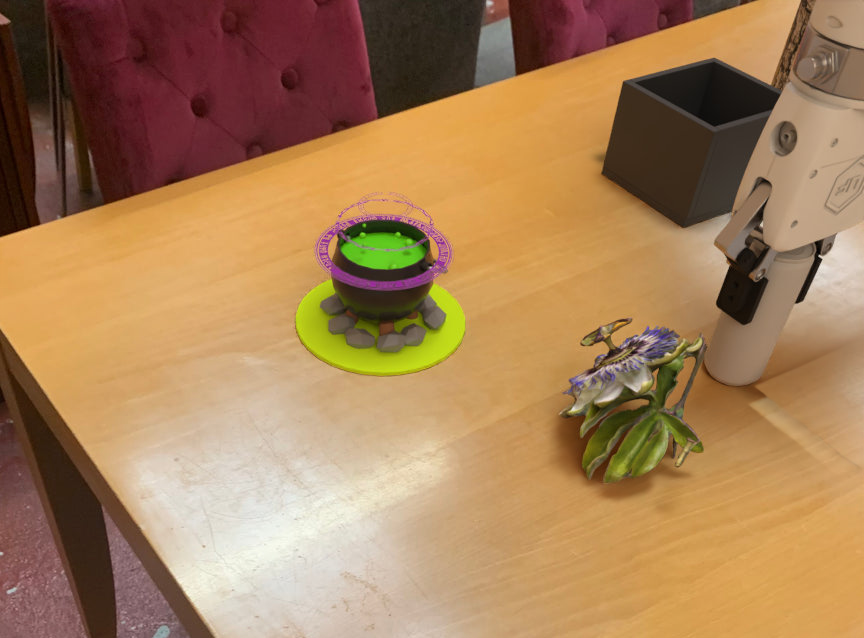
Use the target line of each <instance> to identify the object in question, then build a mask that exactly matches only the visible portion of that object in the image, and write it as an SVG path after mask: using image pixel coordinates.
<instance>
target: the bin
mask: <svg viewBox="0 0 864 638" xmlns="http://www.w3.org/2000/svg"><path fill="white" fill-rule="evenodd" d="M782 92H783V91H781V90H779V89H777V88H775V87H773V86H771V84H769V83H768V82H766V81H763V80H761V79H759V78H757V77H755V76H753V75H751V74H749V73H747V72H745V71H743V70H741V69H738V68H737V67H735V66H732V65H731V64H728V63H726V62H724V61H722V60H720V59H718V58H717V57H711V58H707V59H703V60H702V59H701V60H699V61H695V62H690V63H688V64H684V65H678V66H676V67H673V68H668V69H664V70H660V71H657V72H653V73H652V72H651V73H649V74H645V75H641V76H638V77H637V76H636V77H633V78H630V79H625V80H623V81H622V84H621V88H620V92H619V97H618V100H617V105H616V109H615V114H614V118H613V122H612V125H611V130H610V135H609V139H608V143H607V148H606V152H605V157H604V161H603V164H602V168H601V175H603V176H604V177H606V178H608V179H609V180H610V181H612V182H614V184H617V185H618V186H620V187H621V188H622V189H624V190H626V191H627V192H629V193H630V194H632V195H633V196H635V197H636V198H638V199H639V200H641V201H642V202H643V203H644V204H645V203H646V204H647V205H648V206H650V207H651V208H653V209H654V210H656V211H657V212H659V213H660V214H662V215H663V216H664V217H667V218H668V219H670V220H671V221H672V222H674V223H676V224H677V225H679V226H680V227H681V228H687V227H690V226H693V225H695V224H698V223H701V222H705V221H708V220H710V219H714V218H716V217H719V216H722V215H725V214H728V213H732V210H733V206H734V202H735V199H736V195H737V192H738V189H739V187H740V184H741V181H742V179H743V176H744V173H745V171H746V168H747V166H748V163H749V161H750V159H751V156H752V154H753V151H754V149H755V147H756V145H757V142H758V140H759V138H760V136H761V133H762V131H763V129H764V127H765V125H766V123H767V121H768V119H769V117H770V115H771V113H772V111H773V109H774V107H775V105H776V103H777V101H778V99H779V97H780V95H781V93H782Z"/></svg>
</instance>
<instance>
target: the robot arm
mask: <svg viewBox="0 0 864 638" xmlns="http://www.w3.org/2000/svg"><path fill="white" fill-rule="evenodd" d="M789 78H790V82H789V83H787V84H786V86H785V88H784V90H783V92H782V93H781V95H780V97H779V99H778V101H777V103H776V105H775V107H774V109H773V111H772V113H771V115H770V117H769V119H768V121H767V123H766V125H765V127H764V129H763V131H762V133H761V136H760V138H759V140H758V142H757V145H756V147H755V149H754V151H753V154H752V156H751V159H750V161H749V163H748V166H747V168H746V171H745V173H744V176H743V179H742V181H741V184H740V187H739V189H738V192H737V195H736V199H735V202H734V206H733V210H732V211H731V217H730V220H729V221H728V222H727V224H726V225H725V226H724V227H723V228H722V230H721V231H720V232H719V234H717V236H716V238H715V239H714V241H713V245H714V246H715V248H717V250H719V251H720V252H721V253H722V254H723V255H724V257H725V258H726V261H725V262H726V264H727V265H728V268H727V271H726V274H725V277H724V279H723V282H722V284H721V287H720V289H719V292H718V295H717V298H716V300H715V306H716V308H718V309H719V310H720V311H723V312H725V313H726V314H727V315H729V316H730V317H732V318H733V319H734V320H736V321H737V322H739V323H740V324H742V325H746V324H749V323H751V322H752V320H753V317H754V315H755V312H756V310H757V308H758V305H759V303H760V300H761V298H762V296H763V293H764V291H765V288H766V286H767V284H768V281H769V280H768V279H767V278H765V277H764V276H765V274H766V273H767V271H768V269H769V267H770V266H771V264H772V262H773V261H774V259H775V257H776V256H777V254H778V252H785V251H789V250H792V249H796V248H799V247H801V246H804V245H807V244H810V243H812V242H814V243H815V245H816V252H815V254H814V262H813V264H812V266H811V268H810V270H809V273H808V275H807V277H806V279H805V282H804V284H803V286H802V288H801V290H800V293H799V295H798V297H797V299H796V301H795V304H794V305H799V304H800V303H803V302H804V300H805V299H806V297H807V295H808V292H809V290H810V288H811V286H812V284H813V282H814V279H815V277H816V276H817V272H818V271H819V268H820V266H821V265H822V261H823V258H822V257H825V256H827V255H828V254H829V253H830V251H831V250H832V249H833V248H834V244H835V240H836V236H837V235H838V234H839V233H841V232H844V231H847V230H848V229H851V228H853V227H855V226H857V225H859V224H861V223H863V222H864V0H816V2H815V5H814V8H813V10H812V13H811V16H810V19H809V21H808V24H807V27H806V29H805V32H804V35H803V38H802V40H801V43H800V46H799V49H798V51H797V54H796V57H795V60H794V62H793V65H792V68H791V71H790V74H789ZM761 224H762V226H761ZM754 239H756V240H758V241H759V242H761V243H762V244H764V245H766V246H765V247H764V249H763V250H762V252H761V254H760V255H759V257H758V258H757V257H756V255H755V253H754V252H753V251H752V250H751V249H749V247H750V246H751V244H752V242H753V240H754Z"/></svg>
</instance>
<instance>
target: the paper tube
mask: <svg viewBox="0 0 864 638" xmlns="http://www.w3.org/2000/svg"><path fill="white" fill-rule="evenodd" d="M815 2H816V0H800V2H799V4H798V7H797V10H796V13H795V16H794V19H793V21H792V24H791V26H790V30H789V32H788V36H787V38H786V41H785V44H784V47H783V50H782V52H781V55H780V58H779V61H778V63H777V67H776V69H775V72H774V75H773V77H772V80H771V83H770V85H771V86H773V87H775V88H777V89H779V90H781V91H783V90H784V88H785V86H786V84H787V83H789V82H790V78H789V74H790V71H791V68H792V65H793V62H794V60H795V57H796V54H797V51H798V49H799V46H800V43H801V40H802V38H803V35H804V32H805V29H806V27H807V24H808V21H809V19H810V16H811V13H812V10H813V8H814V5H815Z"/></svg>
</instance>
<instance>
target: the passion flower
mask: <svg viewBox="0 0 864 638" xmlns="http://www.w3.org/2000/svg"><path fill="white" fill-rule="evenodd" d="M633 320H634V319H633V317H630V316H629V317H627V318H620V319H617V320H614V321H612V322H610V323H607V324H606V325H605V324H604V325H602V324H601V325H599V327H598V328H597V329H595V330H593V331H591V332H589V333H588V334H586V335H585V336H584V337H583V338H582V340H581V341H580V342H579V343H580V346H581V347H593V346H594V345H597V344H599V343H601V342H603V343H605V345H606V346H607V348H608V352H607V353H604V354H603V353H602V354H599V355H597V356H596V357H595V359H594V364H593V366H592V367H591V368H588V369H586V370H584V371H582V372H580V373H578V374H576V375H575V376H574V377H571V378H569V379H568V382H569V383H570V388H569V389H567V390H565V391H563V392H561V394H562V395H570V396H571V397H572V398H573V399H574V402H572V403H569V404H568V405H567V406H565V407H564V408H563V409H562V410H561V411H560V412H559V413H558V416H559V417H560V418H562V419H566V420H568V419H571V418H575V417H583V416H585V418H584V420H583V423H582V424H581V426H580V427H579V437H580V439H583V438H584V437H585V435H586V434H587V433H588V431H589V430H590V429H592V427H595V426H596V424H598V422H599V421H600V420H601V419H602V420H601V421H600V423H599V426H598V428H597V429H595V431H594V432H593V433H592V435H591V436H590V438H589V439H588V442H587V444H586V447H585V450H584V452H583V453H582V459H581V468H582V469H583V470H584V472H585V473H586V478H587V480H591V479H592V477H593V474H594V472H595V470H596V469H597V468H599V467H600V466H602V464H603V463H604V462H605V461H606V460H607V459H608V458H609V456H610V454H611V452H612V450H613V449H614V447H615V446H616V445H617V443H619V440H620V439H621V437H622V436H623V434H625V433H626V432H627V431H628V432H627V433H626V434H625V436H624V439H623V440H622V441H621V444H620V445H619V447H618V449H617V452H616V453H615V454H612V456H611V457H610V460H609V463H608V465H607V467H606V469H605V472H604V475H603V478H602V483H603V484H611V483H615V482H621V481H623V480H625V479H627V478H628V479H629V478H630V479H634V478H635V479H636V478H639V477H642V476H643V475H646V474H647V473H649V472H651V471H652V470H653V469H654V468H656V466H658V464H659V463H660V462H661V461H662V459H663V458H664V457H665V455H666V452H667V450H668V447H669V441H670V438H671V437H672V459H675V458H676V452H677V448H678V445H679V446H680V448H682V451H681V452H680V453H679V454H678V456H677V460H676V461H675V462H674V468H675V467H676V468H680V467H681V466H682V465H683V463H684V461H685V460H686V459H687V456H688V455H689V454H690V453H696V454H703V453H704V451H705V449H704V448H705V447H704V445H703V441H702V440H701V438H700V436H699V435H698V434H697V433H696V431H695V430H694V429H693V428H692V427H691V426H690V425H689V424H688V423H687V422H686V421H685V420H684V414H685V404H686V401H687V399H688V396H689V394H690V391H691V389H692V387H693V384H694V380H695V379H696V376H697V373H698V371H699V368H700V367H701V365H702V363H703V362H704V356H705V353H706V351H707V348H708V345H707V343H706V341H705V339H706V337H704V334H703V333H702V332H699V333H698V337H697V338H696V339H695V340H694V341H693V342H692V343H690V341H689V340H687V339H686V338H684V337H681V335H680V334H678V333H677V332H676V331H675V330H674V329H672V330H670V328H669V327H666V326H662V327H661V328H659V327H660V326H659V325H655V327H654V328H653V329H650V326H649V325H647V326H646V328H645V330H644V331H643V332H642V333H640V335H639V334H634V335H633V336H629V337H625V339H624V340H623V341H622V343H621V344H620V345H619V346H616V345H615V344H614V343H613V340H612V336H613V334H614V333H615V332H617V331H619V330H620V329H622V328H623V327H625V326H627V325H630V324H631V323H632V322H633ZM688 358H694V359H695V362H694V366H693V368H692V371H691V373H690V376H689V378H688V380H687V382H686V385H685V387H684V390H683V392H682V394H681V397H680V399H679V400H678V401H677V402H676V403H675V404H674V405H672V406H671V407H670V408H669V409H668V408H666V402H667V400H668V398H669V396H671V394H672V393H673V392H674V391H675V390H676V388H677V386H678V384H679V381H678V380H677V378H678V376H679V374H680V373H681V372H682V370H683V369H684V368H685V361H684V360H685V359H688ZM655 371H657V374H656V377H655V376H654V374H653V373H654V372H655ZM655 381H656V385H655ZM654 385H655V386H656V387H655V389H653V390H651V389H652V387H654ZM637 400H645V401H648V403H647V404H641V406H638V407H637V408H636V409H628V408H627V409H623V410H619V411H615V412H613V413H611V414H610V415H608V414H609V413H610V412H612V411H613V410H615V409H616V408H618V407H620V406H621V405H623V404H625V403H626V404H627V403H628V402H631V401H637ZM607 415H608V416H607Z"/></svg>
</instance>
